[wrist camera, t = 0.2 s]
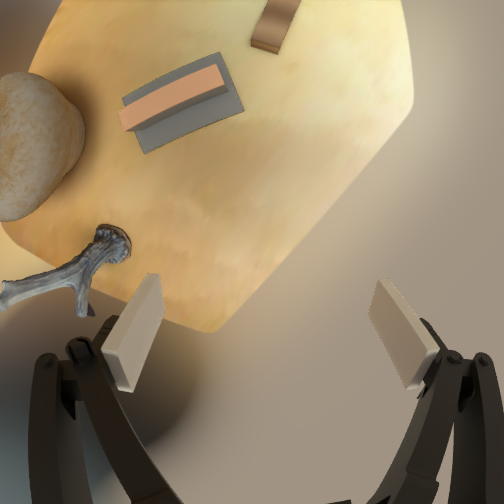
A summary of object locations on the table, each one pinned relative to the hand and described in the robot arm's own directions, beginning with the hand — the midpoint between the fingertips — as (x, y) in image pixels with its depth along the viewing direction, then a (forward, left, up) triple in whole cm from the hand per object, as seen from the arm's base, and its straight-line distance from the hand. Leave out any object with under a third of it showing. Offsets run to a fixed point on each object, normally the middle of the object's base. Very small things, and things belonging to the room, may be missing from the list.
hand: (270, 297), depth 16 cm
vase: (-13, -35, -28) cm, 47 cm away
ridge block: (-15, -11, -28) cm, 33 cm away
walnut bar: (-28, +3, -28) cm, 39 cm away
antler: (+7, -27, -28) cm, 40 cm away
